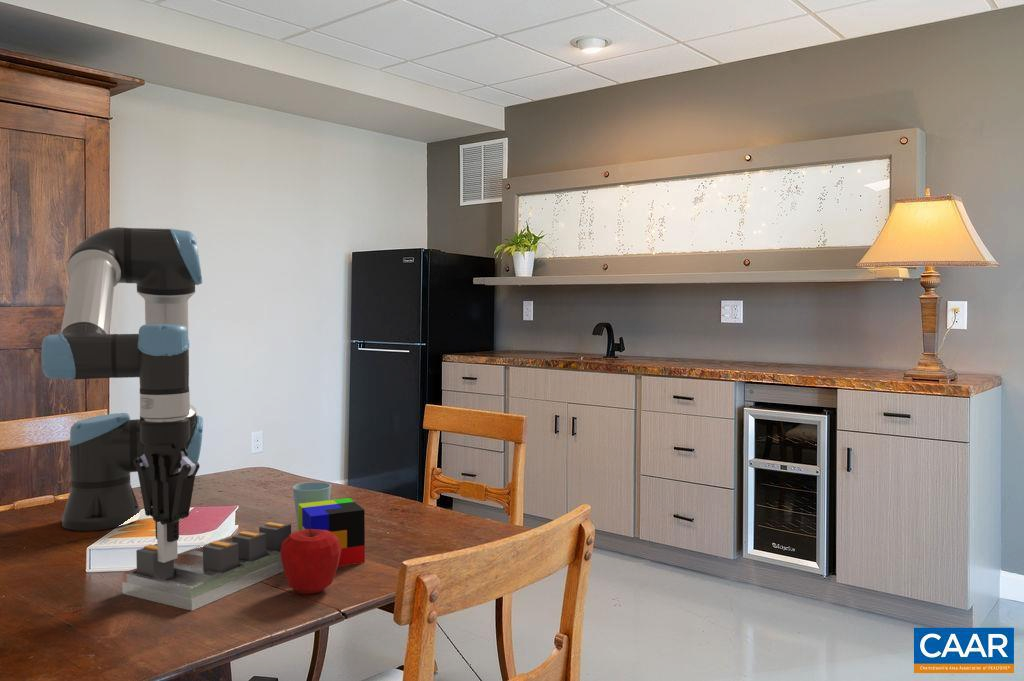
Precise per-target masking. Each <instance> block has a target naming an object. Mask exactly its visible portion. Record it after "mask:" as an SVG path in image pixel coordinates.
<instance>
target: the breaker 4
mask: <svg viewBox="0 0 1024 681" xmlns="http://www.w3.org/2000/svg"><path fill="white" fill-rule="evenodd" d="M258 532H260V533H266V549H268V550H274V551H280V550H281V546H282V542H283V541H284V540H285V539H286V538H287V537H288V536H289V535H290V534H291V533H292V524H291V523H286V522H285V523H284V522H280V521H279V522H278V521H269V522H266V523H265V524H263V525H261V526H258Z"/></svg>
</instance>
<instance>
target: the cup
mask: <svg viewBox="0 0 1024 681" xmlns="http://www.w3.org/2000/svg"><path fill="white" fill-rule="evenodd" d="M331 490H332V484H331V483H328V482H322V481H310V482H309V481H307V482H301V483H297V484H295V485H293V487H292V491H293V499H294V506H295V507H294V508H295V515H296V516H295V517H296V523H297V526H298V504H300V503H309V502H318V501H327V500H331Z"/></svg>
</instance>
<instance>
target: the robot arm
mask: <svg viewBox="0 0 1024 681" xmlns="http://www.w3.org/2000/svg"><path fill="white" fill-rule="evenodd" d="M199 256H200V255H199V250H198V243H197V238H196V236H195V234H194V233H193V232H192V231H190V230H189V231H188V230H184V229H175V228H153V227H152V228H147V227H145V228H143V227H142V228H141V227H140V228H139V227H125V226H124V227H123V226H122V227H119V226H117V227H111V228H110V227H109V228H106V229H103V230H100V231H98V232H96V233H94V234H91V235H90V236H89V237H87V238H85V239H84V240H82V241H81V242H80V243H79V244H78V245H77V246H76V247H75V248H74V249H73V251H72V252H71V254H70V255H69V257H68V261H67V265H66V275H67V277H68V279H69V286H68V291H67V296H66V302H65V307H64V314H63V317H62V318H63V319H62V323H61V328H60V329H61V330H60V333H57V334H48V335H47V336H45V337H44V338H43V339H42V343H41V367H42V372H43V375H44V376H45V378H48V379H51V380H69V381H75V380H88V379H113V378H114V379H117V378H118V379H120V378H121V379H123V378H126V379H127V378H128V379H129V378H139V379H138V380H139V418H137V419H131V416H130V414H129V413H128V412H120V413H119V412H117V413H109V414H102V415H96V416H92V417H87V418H84V419H81V420H80V419H79V420H78V421H76V422H74V423H73V424H72V426H71V427H70V429H69V430H70V431H69V443H68V446H69V449H70V450H69V452H70V453H69V454H70V455H69V456H70V457H69V458H70V491H69V495H68V498H67V500H66V504H65V507H64V511H63V513H62V514H61V515H62V518H61V522H62V523H61V525H62V528H64V529H66V530H69V531H70V530H71V531H77V532H78V531H83V532H86V531H101V530H109V529H114V528H119V527H118V526H119V525H121V524H123V523H124V522H125V521H127V520H128V519H130V518H131V517H133V516H134V515H136V514H137V513H139V512H141V510H140V505H139V504H138V500H137V496H136V495H135V492H134V490H133V487H132V484H131V473H136V472H137V475H138V482H139V487H140V491H141V498H142V503H143V508H144V513H145V515H146V516H147V517H152V519H153V521H154V522H155V523H154V524H155V528H154V529H155V538H156V540H157V543H156V544H157V548H158V562H163V563H165V562H168V561H170V560H173V559H176V558H178V554H179V553H178V541H179V538H180V526H179V524H180V520H183V519H186V518H188V517H189V514H190V508H191V504H192V498H193V492H194V486H195V479H196V475H197V473H198V472H199V470H200V467H201V466H200V463H199V458H200V455H201V448H202V442H203V441H202V440H203V429H204V418H203V417H202V416H200V415H197V409H196V407H194V405H192V404H191V401H190V395H191V394H190V387H189V386H190V344H191V343H190V340H189V299H190V298H191V297H192V296H193V295H194V294H195V293H196V286H199V285H202V284H203V278H202V270H201V262H200V257H199ZM118 284H136V293H137V294H138V295H139V296H141V297H142V298H143V300H144V318H145V319H144V320H145V322H144V323H145V324H143V325H141V326H140V327H139V329H138V333H120V334H119V333H111V332H110V331H111V321H112V313H113V300H114V293H115V292H114V290H115V287H116V286H117V285H118Z"/></svg>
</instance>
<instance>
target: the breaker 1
mask: <svg viewBox="0 0 1024 681" xmlns="http://www.w3.org/2000/svg"><path fill="white" fill-rule="evenodd" d="M135 552H136V555H135V556H136V568H137V574H140V575H144V576H149V577H153V578H158V579H162V580H166V579H169V578H171V577H174V559H173V560H170V561H168V562H165V563H163V562H158V548H157V543H156V544H148V545H144V546H143V548H139V549H136V550H135Z"/></svg>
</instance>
